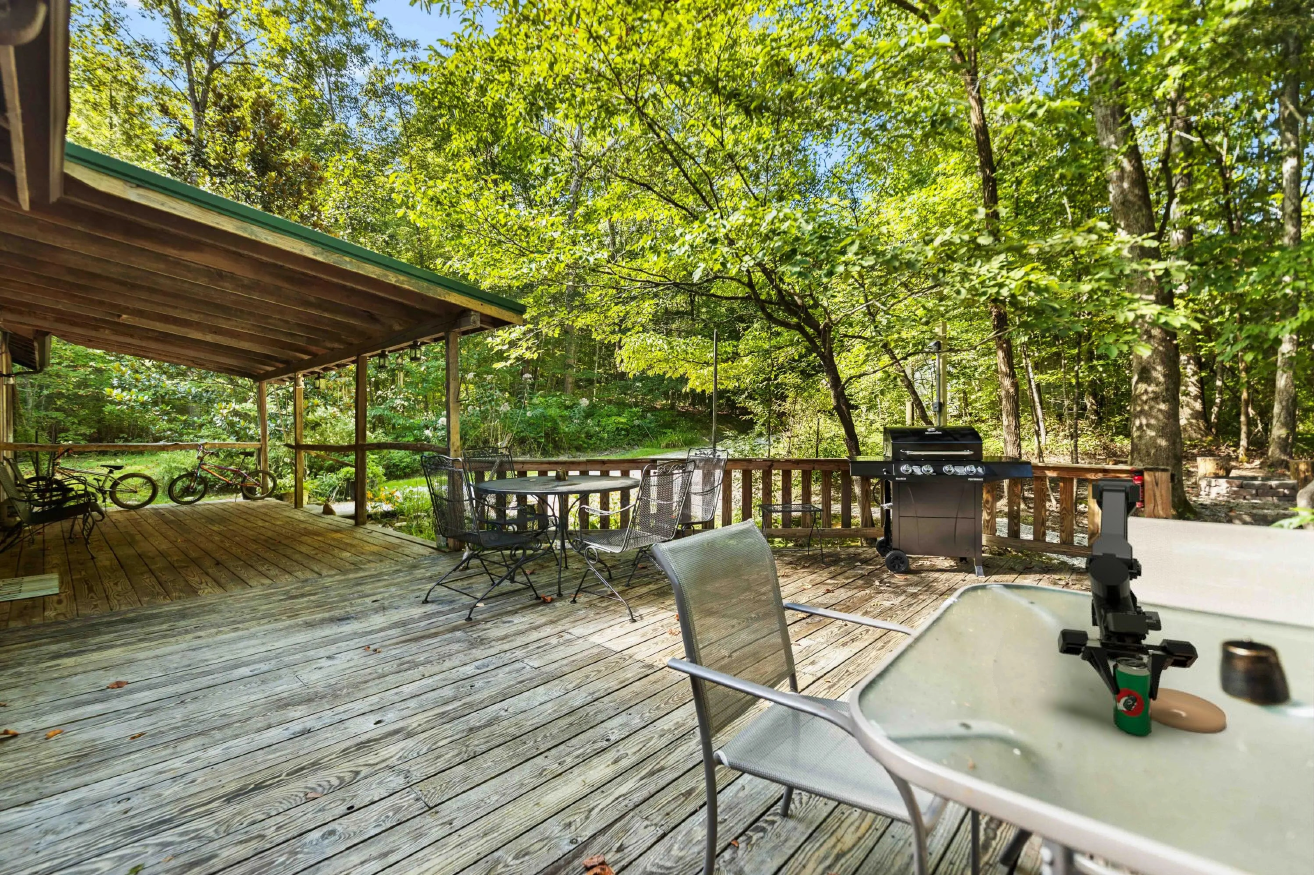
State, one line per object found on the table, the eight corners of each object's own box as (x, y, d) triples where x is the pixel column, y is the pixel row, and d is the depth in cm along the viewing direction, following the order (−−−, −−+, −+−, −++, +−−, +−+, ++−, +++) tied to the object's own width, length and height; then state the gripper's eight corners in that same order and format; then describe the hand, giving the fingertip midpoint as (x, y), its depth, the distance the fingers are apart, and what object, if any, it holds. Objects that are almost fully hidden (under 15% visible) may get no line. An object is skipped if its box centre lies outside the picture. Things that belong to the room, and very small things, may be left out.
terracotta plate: (1118, 695, 106) (1118, 687, 106) (1186, 695, 104) (1186, 687, 104) (1168, 732, 94) (1168, 724, 94) (1246, 733, 92) (1246, 724, 92)
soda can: (1159, 739, 92) (1158, 670, 92) (1124, 737, 94) (1123, 669, 93) (1139, 721, 97) (1138, 656, 97) (1106, 720, 98) (1105, 655, 98)
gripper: (1059, 586, 102) (1074, 671, 93) (1193, 596, 93) (1224, 691, 84) (1052, 612, 109) (1065, 693, 100) (1175, 623, 101) (1201, 713, 92)
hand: (1134, 697), depth 94 cm, fingers closed on soda can, 5 cm apart
